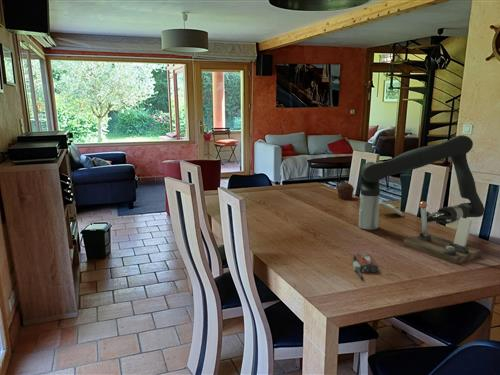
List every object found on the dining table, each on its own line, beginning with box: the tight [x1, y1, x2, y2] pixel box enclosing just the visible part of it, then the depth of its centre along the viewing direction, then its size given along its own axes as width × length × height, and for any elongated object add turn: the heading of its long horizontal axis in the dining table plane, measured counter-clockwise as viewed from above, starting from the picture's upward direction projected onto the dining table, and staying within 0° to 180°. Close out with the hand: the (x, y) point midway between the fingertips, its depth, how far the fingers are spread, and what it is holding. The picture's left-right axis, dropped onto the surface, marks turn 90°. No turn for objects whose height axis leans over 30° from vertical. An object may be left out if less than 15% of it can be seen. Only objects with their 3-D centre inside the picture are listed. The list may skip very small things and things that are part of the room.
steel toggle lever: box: [418, 200, 429, 237], centre depth 171 cm, size 3×3×17 cm
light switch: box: [379, 199, 404, 218], centre depth 224 cm, size 8×6×14 cm
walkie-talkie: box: [352, 253, 379, 280], centre depth 149 cm, size 9×4×20 cm
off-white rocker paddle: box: [453, 217, 473, 249], centre depth 160 cm, size 1×4×12 cm, turn 28°
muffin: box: [336, 182, 355, 200], centre depth 266 cm, size 12×11×10 cm
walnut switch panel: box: [403, 232, 482, 265], centre depth 167 cm, size 16×25×5 cm, turn 28°
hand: (425, 220), depth 172 cm, fingers closed
